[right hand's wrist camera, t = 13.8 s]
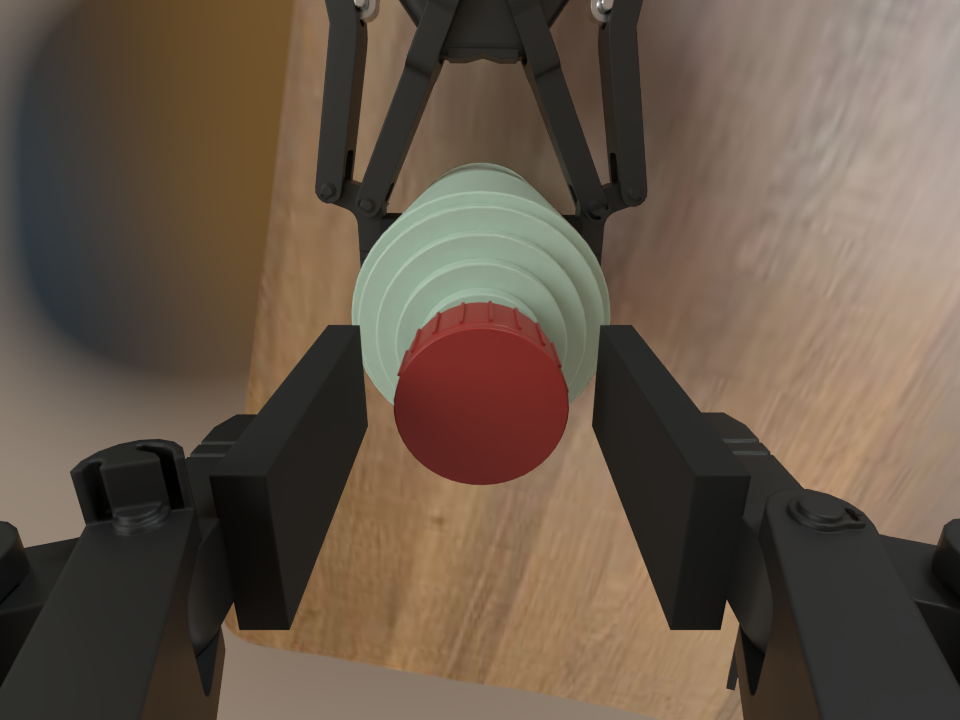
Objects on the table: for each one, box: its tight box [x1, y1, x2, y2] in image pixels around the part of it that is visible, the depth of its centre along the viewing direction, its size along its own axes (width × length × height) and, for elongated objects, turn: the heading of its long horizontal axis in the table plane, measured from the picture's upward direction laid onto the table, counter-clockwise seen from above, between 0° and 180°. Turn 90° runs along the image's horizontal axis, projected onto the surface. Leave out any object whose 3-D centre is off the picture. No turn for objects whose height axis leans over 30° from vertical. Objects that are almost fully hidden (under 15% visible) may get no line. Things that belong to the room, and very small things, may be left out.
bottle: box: [352, 163, 610, 406], centre depth 24 cm, size 8×8×24 cm
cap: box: [394, 301, 569, 485], centre depth 13 cm, size 4×4×2 cm
